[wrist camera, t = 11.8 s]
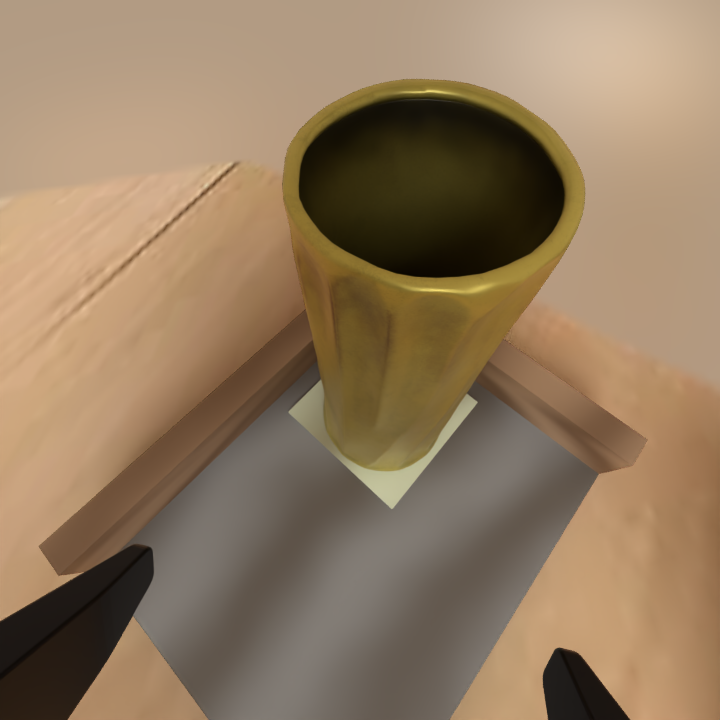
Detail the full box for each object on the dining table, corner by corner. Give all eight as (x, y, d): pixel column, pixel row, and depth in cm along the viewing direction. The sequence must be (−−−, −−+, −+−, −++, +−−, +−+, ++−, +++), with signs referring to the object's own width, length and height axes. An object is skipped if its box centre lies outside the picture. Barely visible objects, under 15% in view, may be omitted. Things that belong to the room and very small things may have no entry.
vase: (300, 428, 19) (175, 205, 6) (364, 338, 21) (374, 32, 8) (404, 497, 18) (535, 400, 5) (462, 393, 20) (659, 130, 7)
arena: (600, 454, 20) (647, 439, 17) (341, 875, 13) (335, 981, 10) (371, 285, 24) (374, 248, 21) (95, 543, 18) (38, 546, 15)
